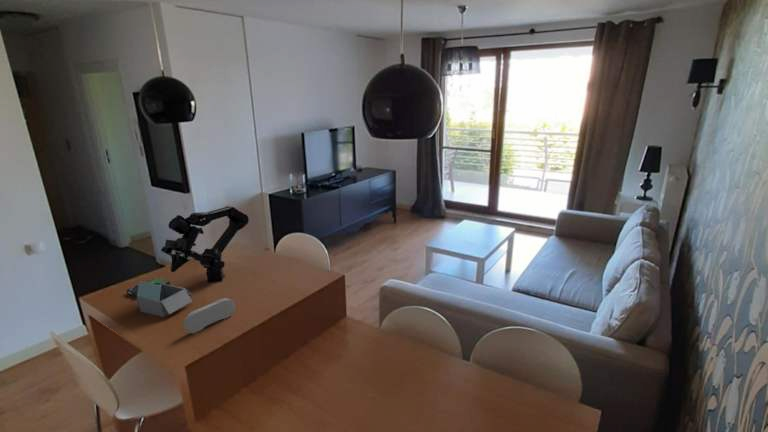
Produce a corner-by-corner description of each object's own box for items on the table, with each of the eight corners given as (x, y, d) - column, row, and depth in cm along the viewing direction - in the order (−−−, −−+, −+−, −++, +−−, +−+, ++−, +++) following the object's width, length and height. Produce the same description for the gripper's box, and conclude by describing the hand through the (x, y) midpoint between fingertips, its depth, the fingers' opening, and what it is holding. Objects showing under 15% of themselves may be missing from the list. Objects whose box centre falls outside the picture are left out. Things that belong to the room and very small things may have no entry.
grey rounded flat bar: (233, 312, 158) (230, 294, 156) (236, 314, 157) (233, 295, 155) (185, 335, 144) (180, 315, 142) (187, 337, 143) (183, 317, 140)
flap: (139, 281, 160) (138, 281, 160) (161, 285, 155) (160, 285, 155) (138, 295, 160) (137, 295, 160) (159, 300, 155) (158, 300, 155)
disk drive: (138, 300, 173) (171, 286, 185) (137, 295, 172) (170, 281, 184) (127, 295, 179) (159, 281, 190) (125, 289, 178) (158, 276, 189)
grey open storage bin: (167, 293, 177) (164, 279, 175) (200, 301, 169) (197, 286, 167) (135, 310, 164) (131, 295, 161) (169, 319, 155) (165, 303, 153)
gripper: (159, 228, 170) (142, 262, 164) (190, 233, 163) (172, 268, 156) (179, 239, 179) (163, 271, 173) (208, 244, 172) (192, 277, 166)
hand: (172, 271), depth 167 cm, fingers closed
